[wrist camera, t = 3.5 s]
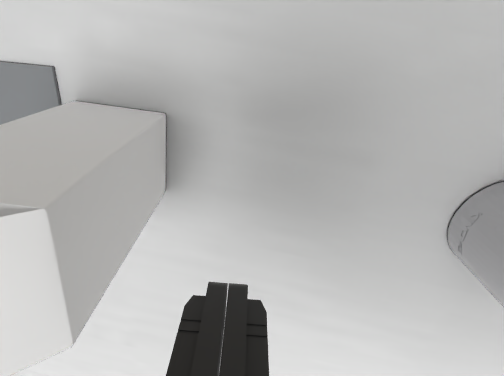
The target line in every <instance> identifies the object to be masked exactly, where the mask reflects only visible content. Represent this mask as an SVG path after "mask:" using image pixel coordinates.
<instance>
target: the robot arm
mask: <svg viewBox="0 0 504 376" xmlns="http://www.w3.org/2000/svg"><path fill="white" fill-rule="evenodd" d="M448 243H449V246H450V248H451V250H452V252H453V253H454V254H455V255H456V256H457V257H458V258H459V259H460V260H461V261H462V263H463V264H464V265H465V266H466V267H467V268H468V269H469V270H470V271H471V272H472V273H473V274H474V275H475V277H476V278H477V279H478V280H479V281H480V282H481V283H482V284H483V285H484V287H485V288H486V289H487V290H488V291H489V292H490V293H491V294H492V295H493V296H494V297H495V298H496V299H497V300H498V302H499V303H500V304H501V305H502V306H503V307H504V182H501V183H497V184H494V185H492V186H489V187H487V188H485V189H483V190H481V191H480V192H478V193H476V194H475V195H473V196H472V197H471V198H469V199H468V200H467V201H466V202H465V203H464V204H463V205H462V206H461V207H460V208H459V209H458V211H457V212H456V213H455V215H454V217H453V218H452V220H451V223H450V226H449V229H448ZM227 285H228V283H217V282H209V283H208V288H207V293H206V296H196V295H193V296H192V297H191V299H190V300H189V301H188V302H187V304H186V305H185V306H184V310H183V314H182V318H181V322H180V325H179V329H178V333H177V336H176V340H175V344H174V348H173V351H172V355H171V359H170V363H169V366H168V370H167V374H166V376H269V364H268V339H267V314H266V310H265V308H264V306H263V304H262V302H261V300H251V299H247V294H248V285H244V284H231V283H229V289H228V298H227ZM226 299H227V308H226ZM225 312H226V317H225ZM224 323H225V326H224ZM223 333H224V335H223ZM222 342H223V345H222ZM221 351H222V354H221ZM220 360H221V363H220ZM219 369H220V372H219Z"/></svg>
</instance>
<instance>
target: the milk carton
mask: <svg viewBox="0 0 504 376" xmlns="http://www.w3.org/2000/svg"><path fill="white" fill-rule="evenodd" d="M165 189H166V114H165V113H160V112H152V111H145V110H138V109H130V108H123V107H116V106H109V105H101V104H94V103H87V102H79V101H72V102H69V103H66V104H62V105H59V106H56V107H53V108H50V109H47V110H44V111H41V112H38V113H35V114H32V115H29V116H26V117H23V118H20V119H17V120H14V121H10V122H7V123H4V124H1V125H0V376H11V375H13V374H15V373H17V372H19V371H22V370H24V369H26V368H28V367H30V366H32V365H35V364H37V363H39V362H41V361H43V360H45V359H48V358H50V357H52V356H54V355H56V354H58V353H60V352H63V351H65V350H67V349H69V348H71V347H72V346H73V344H74V343H75V341H76V339H77V338H78V336H79V334H80V333H81V331H82V329H83V328H84V326H85V324H86V323H87V321H88V319H89V318H90V316H91V314H92V313H93V311H94V309H95V308H96V306H97V304H98V303H99V301H100V300H101V298H102V296H103V295H104V293H105V291H106V290H107V288H108V286H109V285H110V283H111V281H112V280H113V278H114V276H115V275H116V273H117V271H118V270H119V268H120V266H121V265H122V263H123V261H124V260H125V258H126V256H127V255H128V253H129V251H130V250H131V248H132V246H133V245H134V243H135V241H136V240H137V238H138V236H139V235H140V233H141V232H142V230H143V228H144V227H145V225H146V223H147V222H148V220H149V218H150V217H151V215H152V213H153V212H154V210H155V208H156V207H157V205H158V203H159V202H160V200H161V198H162V197H163V195H164V193H165Z"/></svg>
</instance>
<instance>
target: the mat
mask: <svg viewBox="0 0 504 376" xmlns="http://www.w3.org/2000/svg"><path fill="white" fill-rule="evenodd" d="M59 105H61V101H60V95H59V90H58V85H57V79H56V74H55V69H54V66H44V65H33V64H23V63H13V62H3V61H0V125H1V124H4V123H7V122H10V121H14V120H17V119H20V118H23V117H26V116H29V115H32V114H35V113H38V112H41V111H44V110H47V109H50V108H53V107H56V106H59Z"/></svg>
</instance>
